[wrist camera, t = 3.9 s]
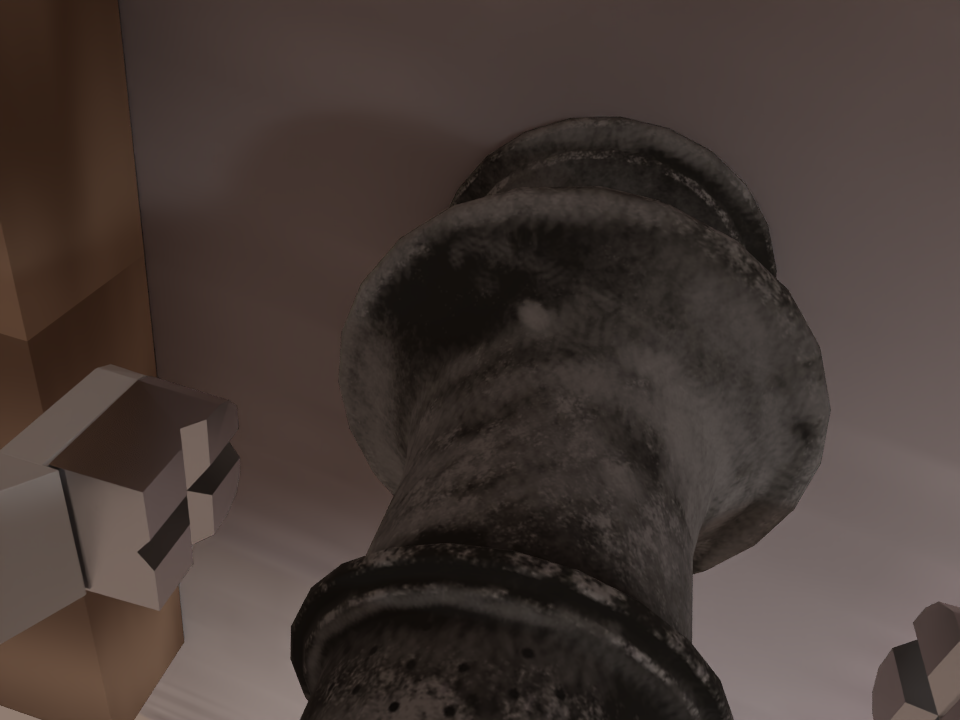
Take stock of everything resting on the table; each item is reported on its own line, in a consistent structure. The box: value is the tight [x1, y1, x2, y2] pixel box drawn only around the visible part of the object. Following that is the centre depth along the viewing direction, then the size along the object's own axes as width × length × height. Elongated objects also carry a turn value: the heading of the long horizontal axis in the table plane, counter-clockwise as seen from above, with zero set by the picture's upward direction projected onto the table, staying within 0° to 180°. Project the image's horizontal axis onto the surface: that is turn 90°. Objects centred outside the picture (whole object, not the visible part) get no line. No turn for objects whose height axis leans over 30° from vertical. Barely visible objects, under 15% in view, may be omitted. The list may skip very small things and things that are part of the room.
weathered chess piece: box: [291, 117, 831, 720], centre depth 7 cm, size 6×6×12 cm
